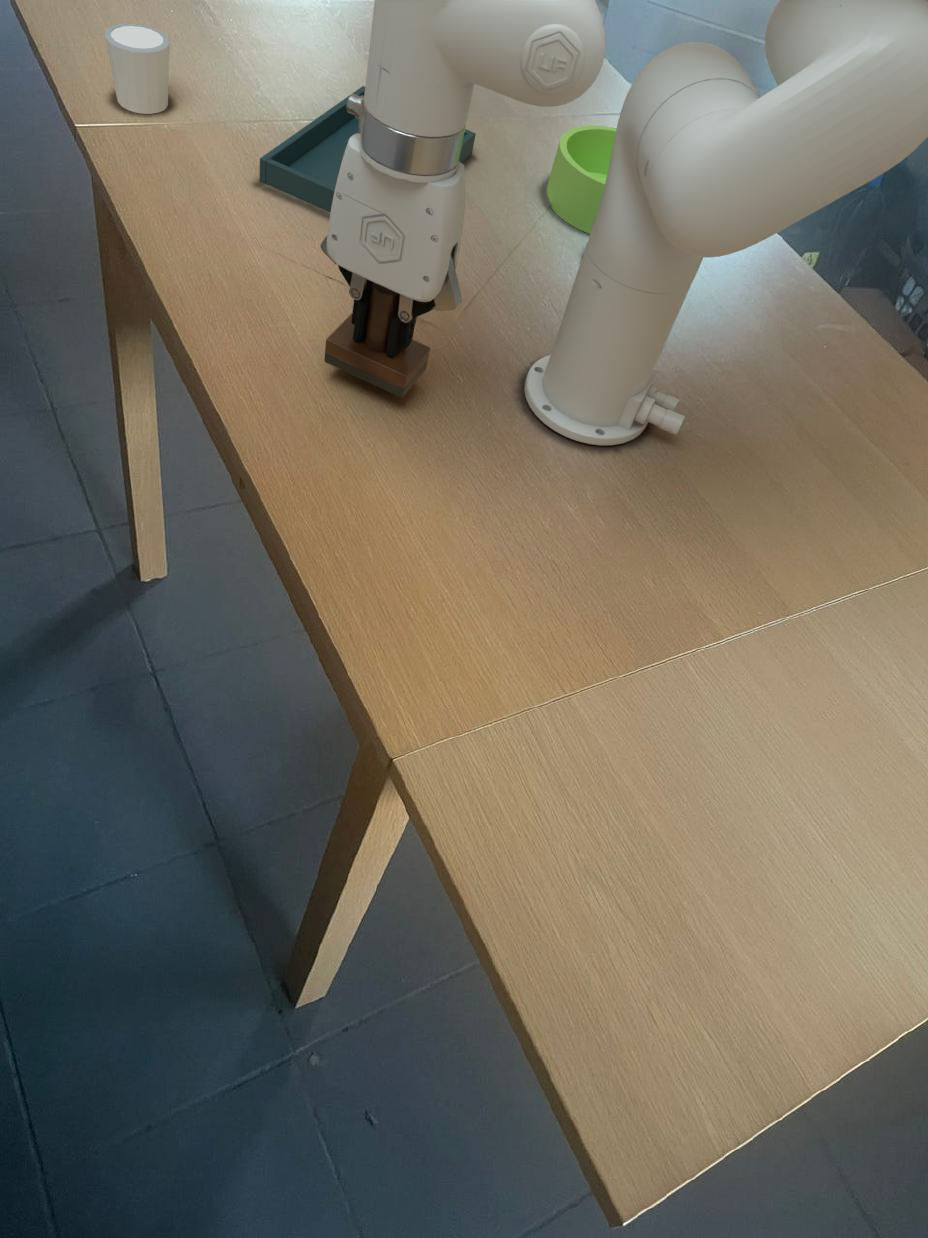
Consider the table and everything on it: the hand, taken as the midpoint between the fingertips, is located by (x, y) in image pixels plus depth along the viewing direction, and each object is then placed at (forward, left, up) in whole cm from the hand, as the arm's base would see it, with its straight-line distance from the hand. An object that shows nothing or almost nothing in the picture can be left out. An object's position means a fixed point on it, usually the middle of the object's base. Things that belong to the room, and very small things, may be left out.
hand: (380, 339), depth 82 cm
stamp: (0, 0, -3) cm, 3 cm away
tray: (+18, -33, -5) cm, 38 cm away
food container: (-10, -42, -5) cm, 44 cm away
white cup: (+45, -27, -5) cm, 53 cm away
